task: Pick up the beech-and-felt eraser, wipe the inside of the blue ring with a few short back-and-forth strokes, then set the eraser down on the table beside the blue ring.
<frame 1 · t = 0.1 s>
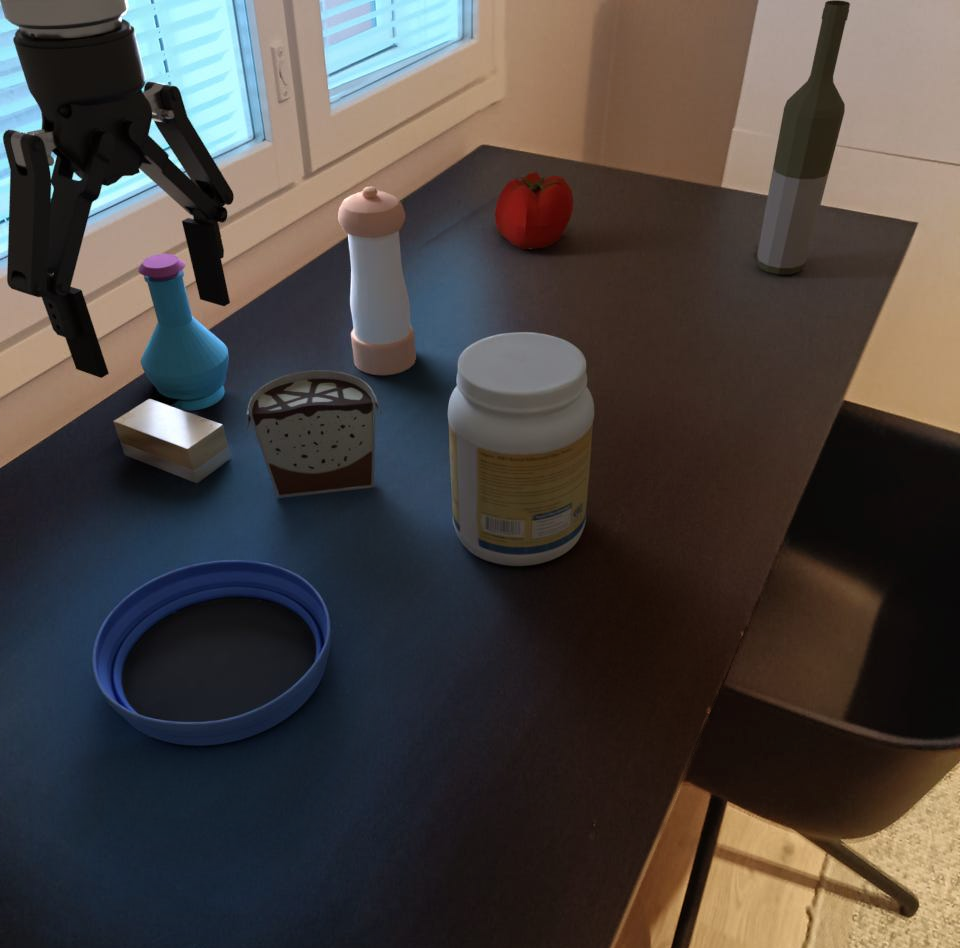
hand: (157, 334, 74), 18 cm above the table, tool pointing down, fingers open, 13 cm apart
perfume bottle: (195, 396, 103), on the table
pepper shaker: (385, 361, 108), on the table
tomato: (532, 244, 132), on the table
eraser: (177, 456, 95), on the table
bottle: (778, 269, 125), on the table
supplement tub: (518, 531, 86), on the table
blue ring: (222, 667, 74), on the table
food container: (324, 476, 92), on the table
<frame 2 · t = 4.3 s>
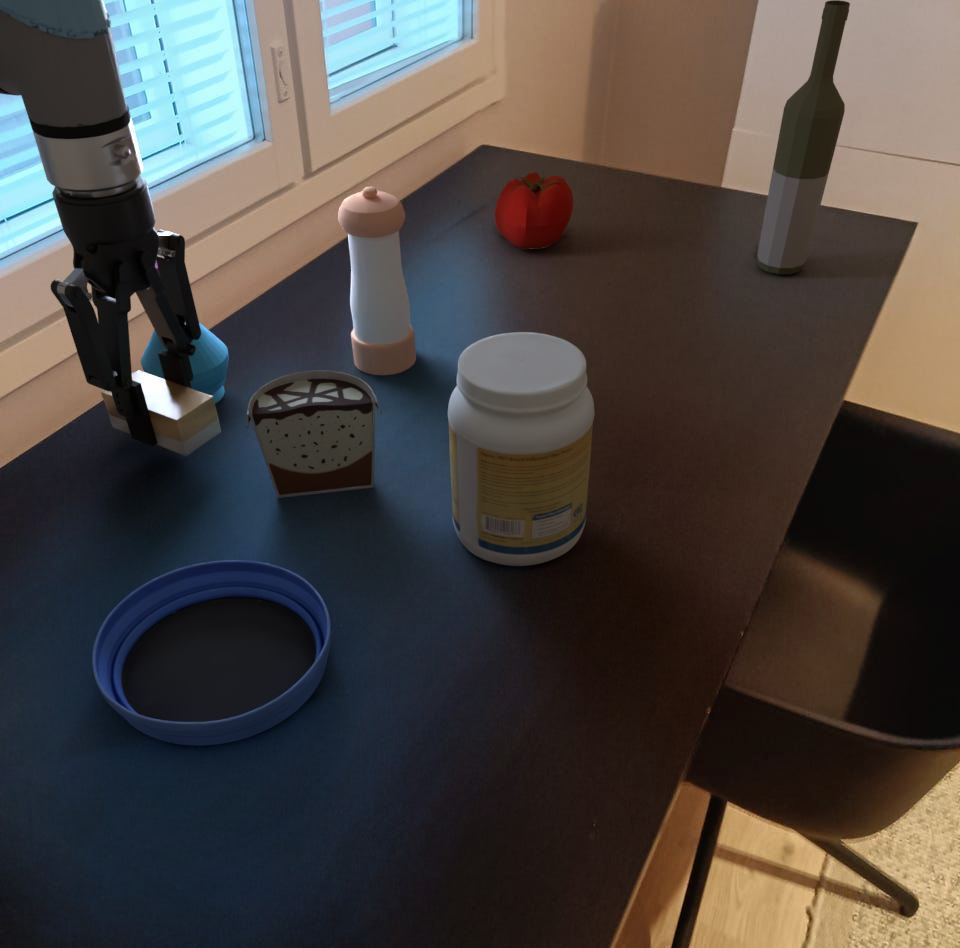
hand: (165, 426, 92), 3 cm above the table, tool pointing down, fingers closed on eraser, 5 cm apart
eraser: (166, 429, 92), point 3 cm above the table, touching gripper
everything else where it was.
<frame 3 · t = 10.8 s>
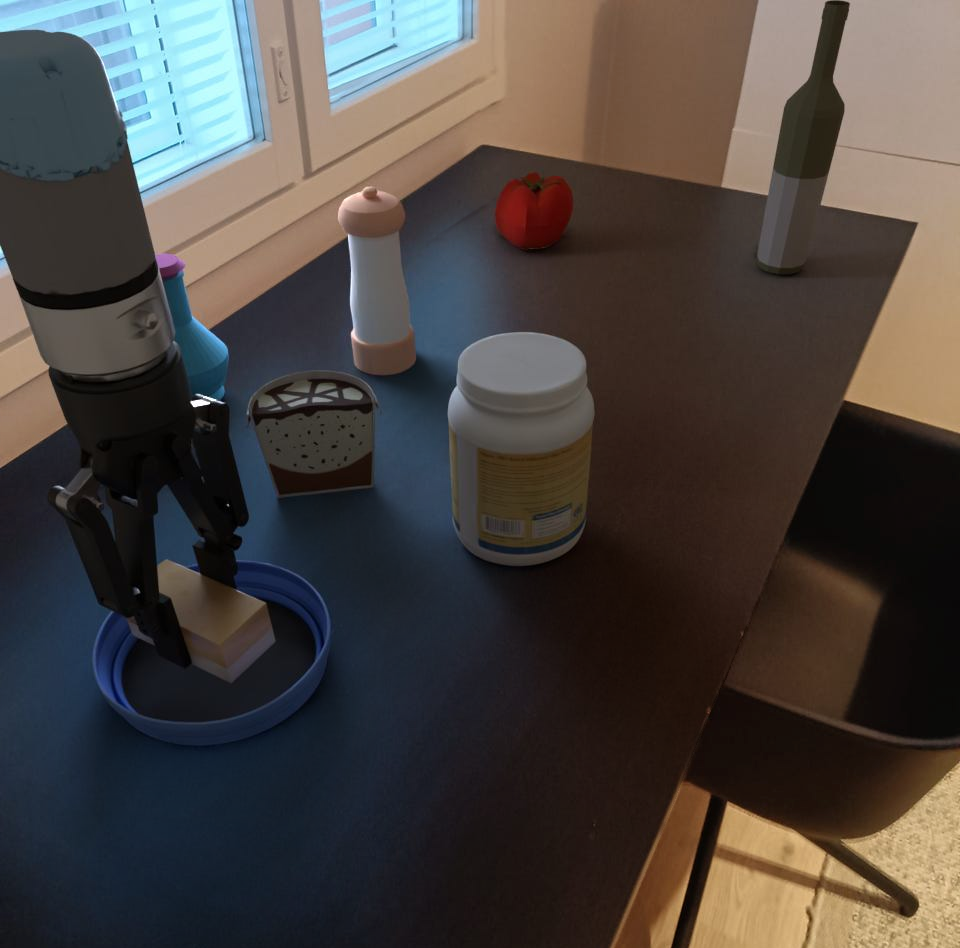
hand: (202, 635, 70), 4 cm above the table, tool pointing down, fingers closed on eraser, 5 cm apart
eraser: (203, 638, 70), point 4 cm above the table, touching gripper
everything else where it was.
when the fingers open (0 cm above the table, at t = 17.3 s): eraser stays where it is, on the table.
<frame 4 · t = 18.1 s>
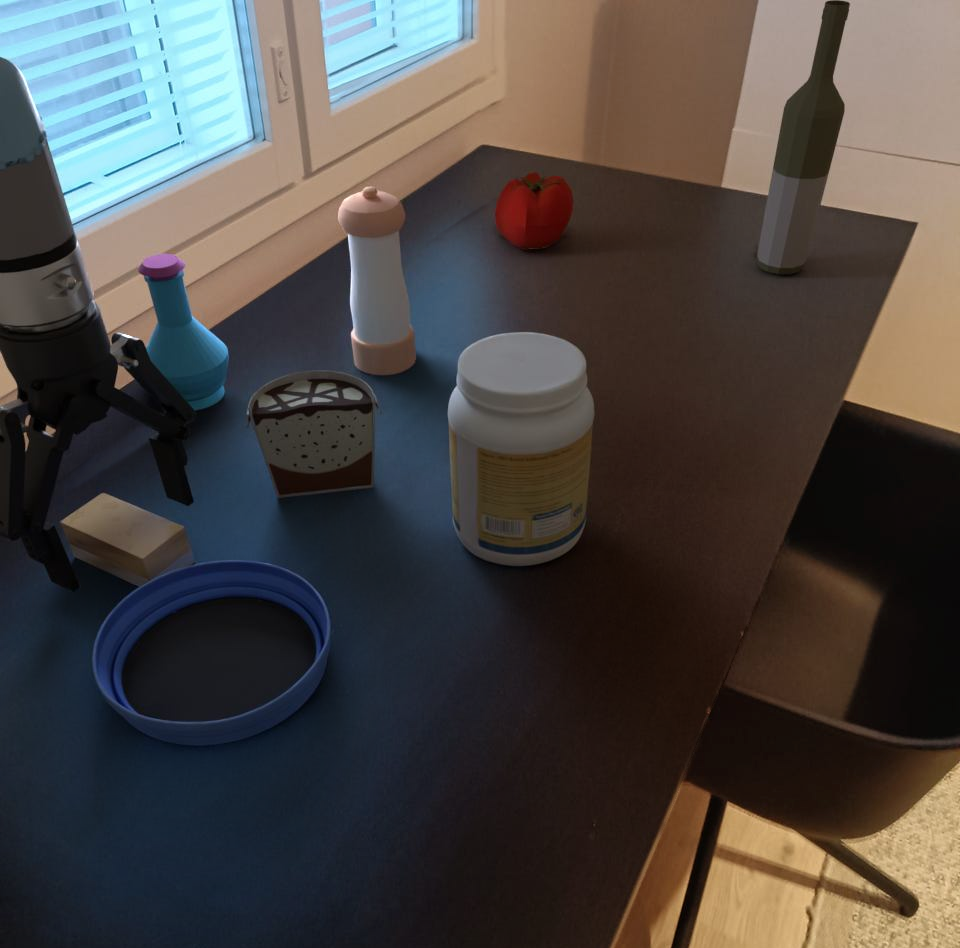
hand: (126, 540, 82), 2 cm above the table, tool pointing down, fingers open, 13 cm apart
eraser: (134, 559, 83), on the table
everything else where it was.
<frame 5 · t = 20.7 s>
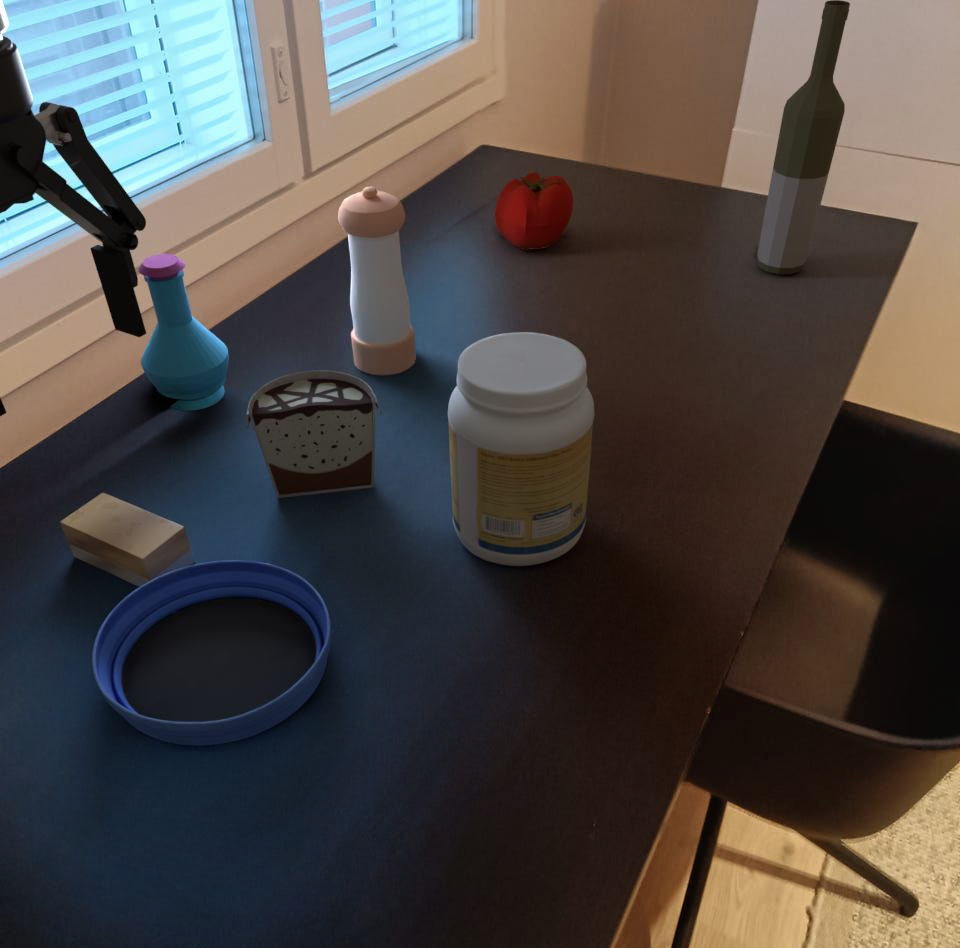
hand: (64, 369, 70), 19 cm above the table, tool pointing down, fingers open, 13 cm apart
nothing on the table moved.
at the end: eraser inside the target area (0.2 cm from its centre), on the table; blue ring moved 0.2 cm from its start; blue ring tilted 0° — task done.
